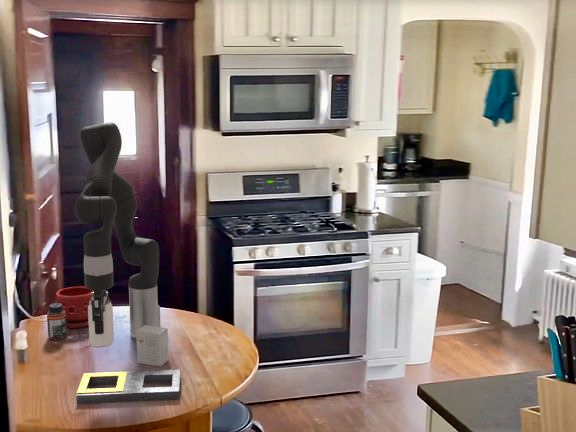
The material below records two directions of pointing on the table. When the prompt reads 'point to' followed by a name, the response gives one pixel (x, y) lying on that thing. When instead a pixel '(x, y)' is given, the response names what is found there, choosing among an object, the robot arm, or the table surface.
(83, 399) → the grey slotted tray
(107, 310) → the can
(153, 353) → the small box
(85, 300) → the plant pot
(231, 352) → the table surface
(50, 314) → the supplement bottle
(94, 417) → the table surface
